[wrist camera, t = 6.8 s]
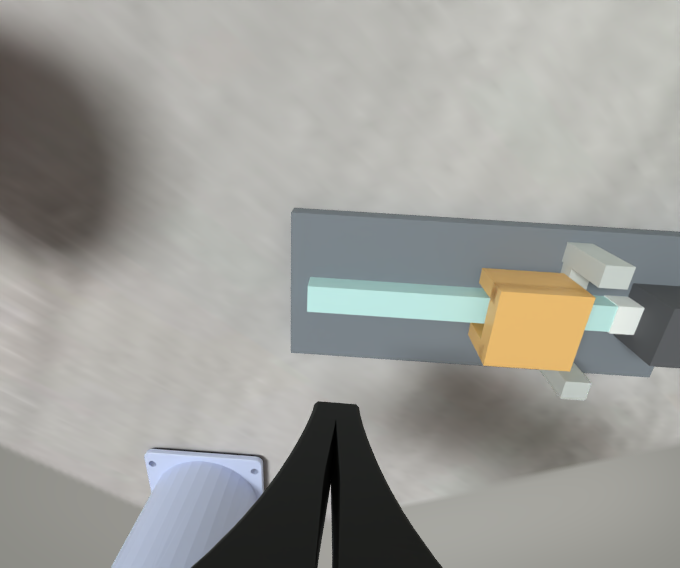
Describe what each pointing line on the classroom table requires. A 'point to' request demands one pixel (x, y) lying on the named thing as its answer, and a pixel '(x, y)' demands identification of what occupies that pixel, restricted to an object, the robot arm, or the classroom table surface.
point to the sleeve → (531, 320)
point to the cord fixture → (477, 288)
